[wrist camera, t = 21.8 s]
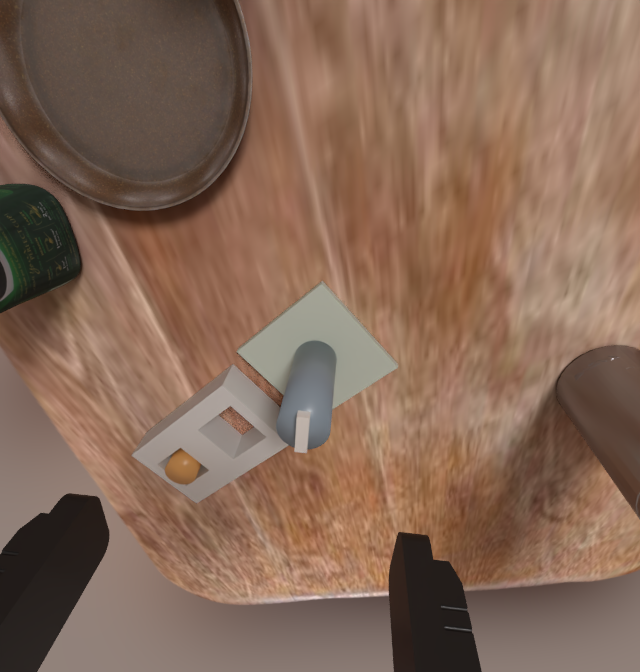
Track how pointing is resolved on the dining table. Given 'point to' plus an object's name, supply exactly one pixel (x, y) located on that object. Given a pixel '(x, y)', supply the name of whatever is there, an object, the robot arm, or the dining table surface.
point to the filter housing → (215, 434)
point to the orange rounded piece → (182, 467)
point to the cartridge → (308, 397)
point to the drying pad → (320, 325)
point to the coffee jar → (33, 244)
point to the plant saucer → (127, 93)
